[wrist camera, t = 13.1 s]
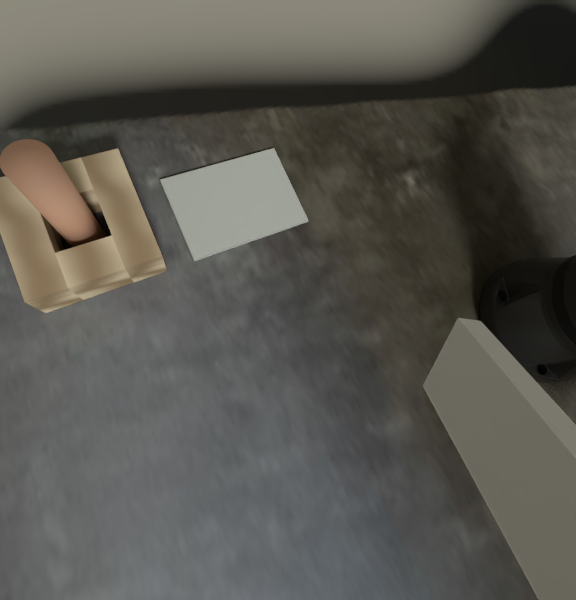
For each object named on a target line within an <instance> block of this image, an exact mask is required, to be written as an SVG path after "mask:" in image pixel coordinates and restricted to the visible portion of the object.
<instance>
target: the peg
mask: <svg viewBox="0 0 576 600" xmlns="http://www.w3.org/2000/svg"><path fill="white" fill-rule="evenodd" d="M0 168H1V170H2V172H3V173H4V174H5V175H6V177H7V178H8V179H9V180H10V181H11V182H12V183H13V184H14V185H15V186H16V187H17V188H18V189H19V190H20V192H21V193H22V194H23V195H24V196H25V197H26V198H27V199H28V200H29V201H30V202H31V203H32V204H33V206H34V207H35V208H36V209H37V210H38V211H39V212H40V213H41V214H42V215H43V216H44V217H45V218H46V219H47V221H48V222H49V223H50V224H51V225H52V226H53V227H54V228H55V229H56V230H57V231H58V232H59V233H60V235H61V236H62V237H63V238H64V239H65V240H66V241H67V242H68V243H69V244H70V245H71V246H72V247H76V246H79V245H82V244H86V243H89V242H92V241H95V240H99V239H102V238H105V237H106V235H105V233H104V231H103V229H102V228H101V226H100V225H99V223H98V222H97V220H96V218H95V217H94V215H93V214H92V212H91V211H90V209H89V208H88V206H87V204H86V203H85V201H84V200H83V198H82V197H81V195H80V194H79V192H78V190H77V189H76V187H75V186H74V184H73V183H72V181H71V180H70V178H69V176H68V175H67V173H66V172H65V170H64V169H63V167H62V166H61V164H60V163H59V161H58V159H57V158H56V156H55V155H54V153H53V152H52V150H51V149H50V148H49V147H48V146H47V145H46V144H44V143H42V142H40V141H37V140H33V139H22V140H18V141H15V142H13V143H11V144H9V145H8V146H7V147H6V148H5V149H4V150H3V151H2V153H1V155H0Z"/></svg>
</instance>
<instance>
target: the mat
mask: <svg viewBox="0 0 576 600" xmlns="http://www.w3.org/2000/svg"><path fill="white" fill-rule="evenodd" d="M160 182H161V184H162V187H163V189H164V192H165V194H166V196H167V199H168V201H169V203H170V206H171V208H172V210H173V213H174V215H175V217H176V220H177V222H178V225H179V227H180V229H181V232H182V234H183V236H184V239H185V241H186V243H187V246H188V248H189V250H190V253H191V255H192V258H193V260H194V261H197V260H200V259H203V258H205V257H208V256H211V255H214V254H217V253H220V252H223V251H226V250H228V249H231V248H234V247H237V246H240V245H243V244H246V243H249V242H251V241H254V240H257V239H260V238H263V237H266V236H269V235H272V234H274V233H277V232H280V231H283V230H286V229H289V228H292V227H295V226H297V225H300V224H303V223H306V222H308V218H307V216H306V214H305V212H304V210H303V208H302V206H301V204H300V202H299V200H298V197H297V195H296V193H295V191H294V189H293V187H292V185H291V183H290V181H289V179H288V176H287V174H286V172H285V170H284V168H283V166H282V164H281V162H280V160H279V158H278V156H277V153H276V151H275V149H274V148H272V149H268V150H265V151H261V152H258V153H254V154H250V155H247V156H243V157H240V158H236V159H232V160H229V161H225V162H222V163H218V164H214V165H211V166H207V167H204V168H200V169H196V170H193V171H189V172H186V173H182V174H178V175H175V176H171V177H168V178H164V179H160Z"/></svg>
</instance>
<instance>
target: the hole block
mask: <svg viewBox="0 0 576 600" xmlns="http://www.w3.org/2000/svg"><path fill="white" fill-rule="evenodd" d="M60 164H61V166H62V167H63V169H64V170H65V172H66V173H67V175H68V176H69V178H70V180H71V181H72V183H73V184H74V186H75V187H76V189H77V190H78V192H79V194H80V195H81V197H82V198H83V200H84V201H85V203H86V204H87V206H88V208H89V209H90V211H91V212H92V214H95V213H99V212H103V214H104V217H105V219H106V222H107V224H108V227H109V229H110V232H111V234H112V235H111V236H108V237H105V238H102V239H99V240H95V241H92V242H89V243H86V244H82V245H79V246H76V247H73V248H69V249H66V250H64V247H63V245H62V242H61V239H60V237H59V234H58V231H57V230H56V229H55V228H54V227H53V226H52V225H51V224H50V223H49V222H48V221H47V219H46V218H45V217H44V216H43V215H42V214H41V213H40V212H39V211H38V210H37V209H36V208H35V207H34V206H33V204H32V203H31V202H30V201H29V200H28V199H27V198H26V197H25V196H24V195H23V194H22V193H21V192H20V190H19V189H18V188H17V187H16V186H15V185H14V184H13V183H12V182H11V181H10V180H9V179H8V178H7V177H6V176H4V177H0V233H1V236H2V239H3V242H4V244H5V247H6V250H7V253H8V256H9V259H10V261H11V264H12V267H13V270H14V273H15V276H16V278H17V281H18V284H19V287H20V290H21V293H22V295H23V298H24V301H25V303H27V304H29V305H31V306H33V307H35V308H37V309H39V310H41V311H43V312H45V313H48V312H50V311H53V310H56V309H59V308H62V307H65V306H68V305H70V304H73V303H76V302H79V301H82V300H85V299H88V298H91V297H93V296H96V295H99V294H102V293H105V292H108V291H111V290H114V289H116V288H119V287H122V286H125V285H128V284H131V283H134V282H137V281H139V280H142V279H145V278H148V277H151V276H154V275H157V274H160V273H162V272H165V271H167V269H166V266H165V263H164V260H163V256H162V254H161V251H160V249H159V247H158V244H157V242H156V239H155V237H154V235H153V232H152V230H151V227H150V225H149V222H148V220H147V218H146V215H145V213H144V210H143V208H142V205H141V203H140V201H139V198H138V196H137V193H136V191H135V189H134V186H133V184H132V181H131V179H130V176H129V174H128V172H127V169H126V167H125V164H124V162H123V159H122V157H121V155H120V152H119V150H118V149H113V150H109V151H105V152H101V153H97V154H93V155H89V156H85V157H81V158H77V159H73V160H69V161H65V162H61V163H60Z"/></svg>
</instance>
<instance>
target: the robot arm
mask: <svg viewBox="0 0 576 600" xmlns="http://www.w3.org/2000/svg"><path fill="white" fill-rule="evenodd" d="M480 319H481V321H477V320H470V319H463V318H458V319H457V321H456V323H455V325H454V327H453V329H452V331H451V333H450V334H449V336H448V338H447V340H446V342H445V344H444V346H443V348H442V350H441V352H440V354H439V356H438V358H437V359H436V361H435V363H434V365H433V367H432V369H431V371H430V373H429V375H428V377H427V379H426V381H425V383H424V384H423V387H424V389H425V391H426V393H427V395H428V397H429V399H430V400H431V402H432V404H433V406H434V408H435V410H436V411H437V413H438V415H439V417H440V419H441V421H442V422H443V424H444V426H445V428H446V430H447V432H448V434H449V435H450V437H451V439H452V441H453V443H454V445H455V446H456V448H457V450H458V452H459V454H460V456H461V458H462V459H463V461H464V463H465V465H466V467H467V469H468V470H469V472H470V474H471V476H472V478H473V480H474V481H475V483H476V485H477V487H478V489H479V491H480V493H481V494H482V496H483V498H484V500H485V502H486V504H487V505H488V507H489V509H490V511H491V513H492V515H493V517H494V518H495V520H496V522H497V524H498V526H499V528H500V529H501V531H502V533H503V535H504V537H505V539H506V541H507V542H508V544H509V546H510V548H511V550H512V552H513V553H514V555H515V557H516V559H517V561H518V563H519V564H520V566H521V568H522V570H523V572H524V574H525V576H526V577H527V579H528V581H529V583H530V585H531V587H532V588H533V590H534V592H535V594H536V596H537V598H538V600H576V425H575V424H574V423H573V421H572V420H571V419H570V418H569V417H568V416H567V415H566V414H565V413H564V412H563V411H562V409H561V408H560V407H559V406H558V405H557V404H556V403H555V402H554V401H553V400H552V398H551V397H550V396H549V395H548V394H547V393H546V392H545V391H544V390H543V389H542V388H541V386H540V385H539V384H538V383H537V382H552V381H564V380H568V379H572V378H574V377H576V255H575V256H572V257H564V258H540V259H526V260H522V261H518V262H516V263H513V264H511V265H508V266H506V267H504V268H502V269H500V270H499V271H497V272H496V273H495V274H494V275H493V276H492V277H491V278H490V279H489V281H488V282H487V284H486V285H485V288H484V290H483V293H482V296H481V301H480ZM536 381H537V382H536Z"/></svg>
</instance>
